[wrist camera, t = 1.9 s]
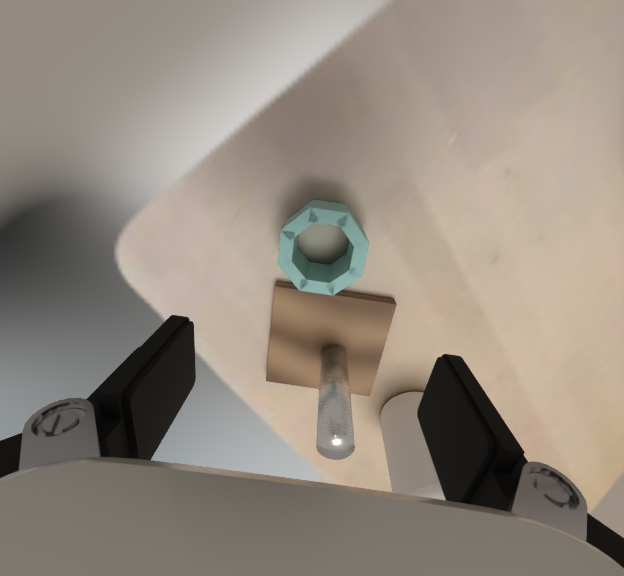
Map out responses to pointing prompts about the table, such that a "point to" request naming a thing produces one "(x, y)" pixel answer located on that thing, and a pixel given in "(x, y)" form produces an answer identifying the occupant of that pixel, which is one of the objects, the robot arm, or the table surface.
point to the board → (326, 335)
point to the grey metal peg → (334, 405)
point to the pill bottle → (408, 448)
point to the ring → (318, 274)
